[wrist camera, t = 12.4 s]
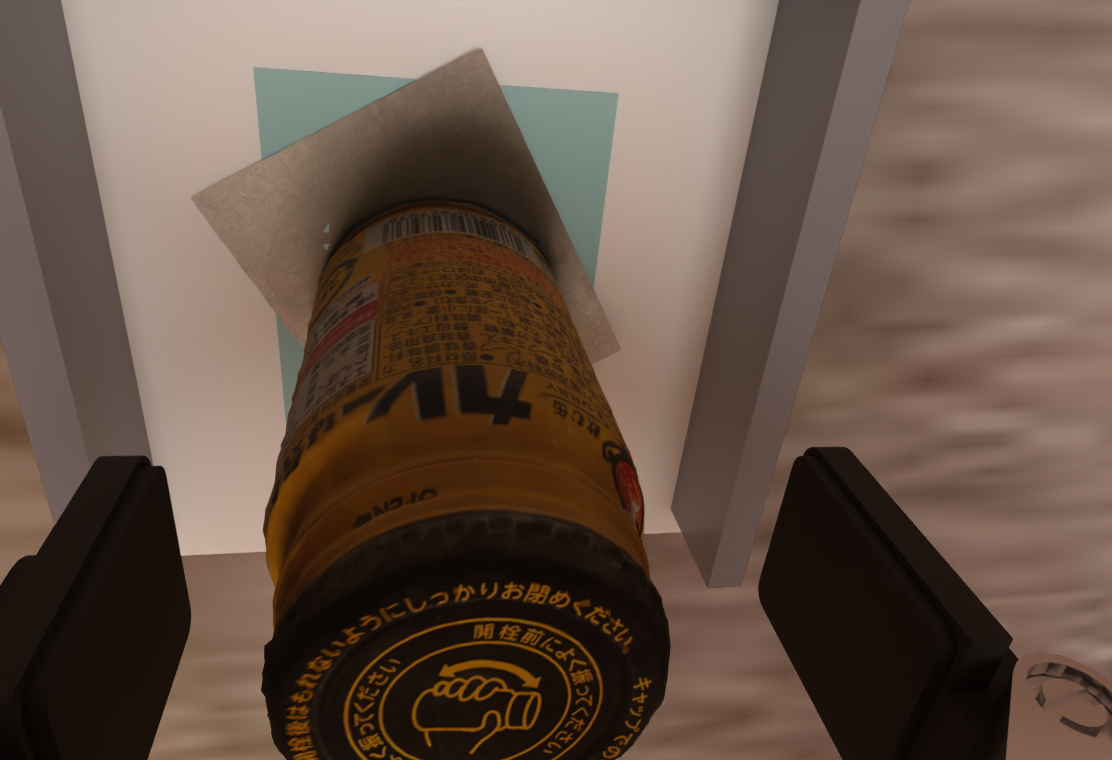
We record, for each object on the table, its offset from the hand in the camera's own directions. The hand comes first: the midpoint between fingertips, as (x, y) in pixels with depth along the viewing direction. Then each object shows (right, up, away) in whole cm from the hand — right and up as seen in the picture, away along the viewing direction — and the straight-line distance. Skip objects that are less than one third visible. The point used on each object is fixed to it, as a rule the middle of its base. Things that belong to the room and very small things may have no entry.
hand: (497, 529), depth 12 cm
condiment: (-2, +5, +8) cm, 10 cm away
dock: (-2, +6, +10) cm, 12 cm away
